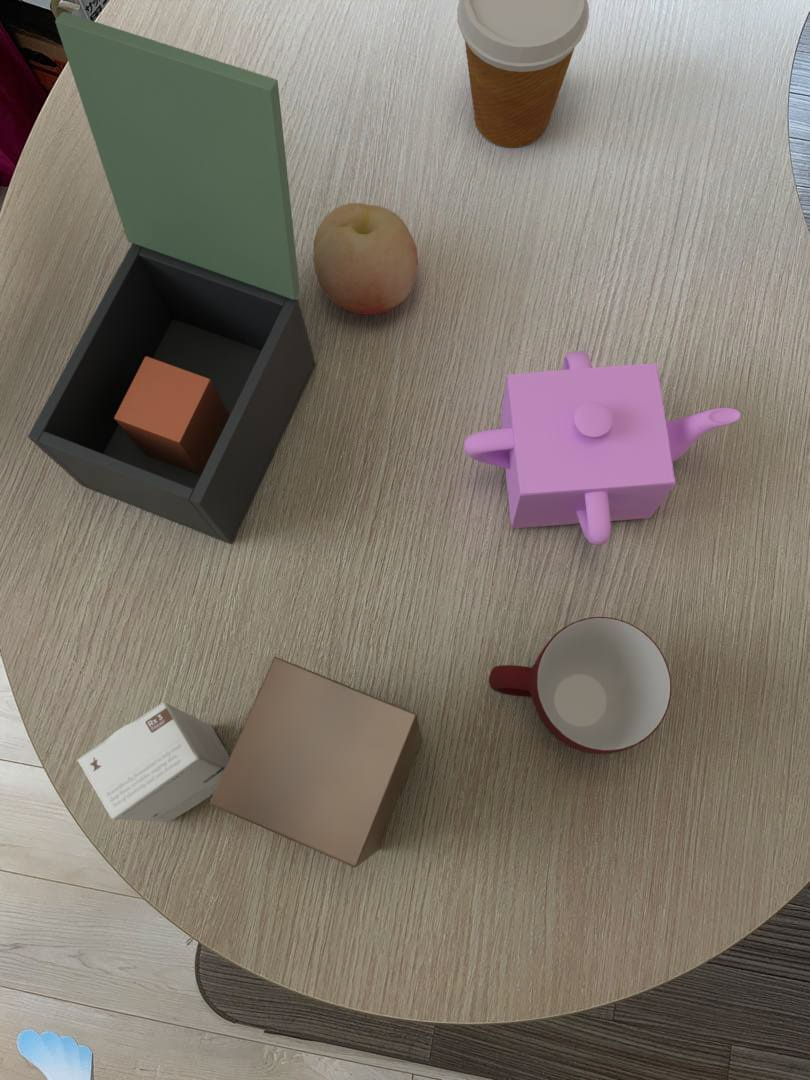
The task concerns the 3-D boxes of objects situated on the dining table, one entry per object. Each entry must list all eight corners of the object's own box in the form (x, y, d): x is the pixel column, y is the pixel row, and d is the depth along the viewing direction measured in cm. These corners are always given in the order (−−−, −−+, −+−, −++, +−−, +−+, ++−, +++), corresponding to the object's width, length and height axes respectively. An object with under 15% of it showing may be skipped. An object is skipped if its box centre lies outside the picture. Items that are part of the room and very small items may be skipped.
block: (144, 454, 71) (113, 418, 64) (172, 397, 72) (145, 355, 65) (204, 477, 70) (179, 442, 63) (232, 419, 71) (210, 378, 65)
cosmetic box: (169, 824, 64) (109, 829, 53) (136, 769, 65) (70, 761, 54) (245, 771, 65) (202, 764, 53) (211, 717, 66) (162, 698, 54)
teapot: (690, 382, 72) (730, 316, 62) (719, 559, 68) (766, 518, 58) (454, 400, 72) (456, 338, 62) (470, 578, 68) (475, 540, 58)
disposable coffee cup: (439, 86, 80) (440, -35, 68) (546, 56, 80) (564, -70, 69) (475, 178, 77) (482, 68, 66) (585, 146, 78) (611, 31, 66)
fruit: (423, 245, 76) (422, 182, 68) (414, 336, 74) (411, 281, 66) (325, 239, 76) (312, 175, 68) (312, 328, 74) (298, 273, 66)
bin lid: (271, 90, 48) (278, 79, 49) (54, 20, 50) (62, 10, 50) (294, 300, 63) (300, 291, 63) (127, 241, 65) (133, 232, 65)
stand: (270, 804, 64) (208, 804, 47) (317, 694, 66) (274, 655, 49) (378, 850, 63) (356, 868, 46) (422, 738, 65) (417, 714, 48)
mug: (485, 758, 65) (493, 750, 55) (485, 641, 67) (493, 614, 57) (640, 761, 64) (676, 754, 55) (635, 644, 67) (668, 616, 57)
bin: (232, 544, 70) (199, 504, 60) (81, 485, 71) (26, 436, 62) (316, 364, 73) (298, 299, 64) (171, 312, 75) (132, 241, 65)
